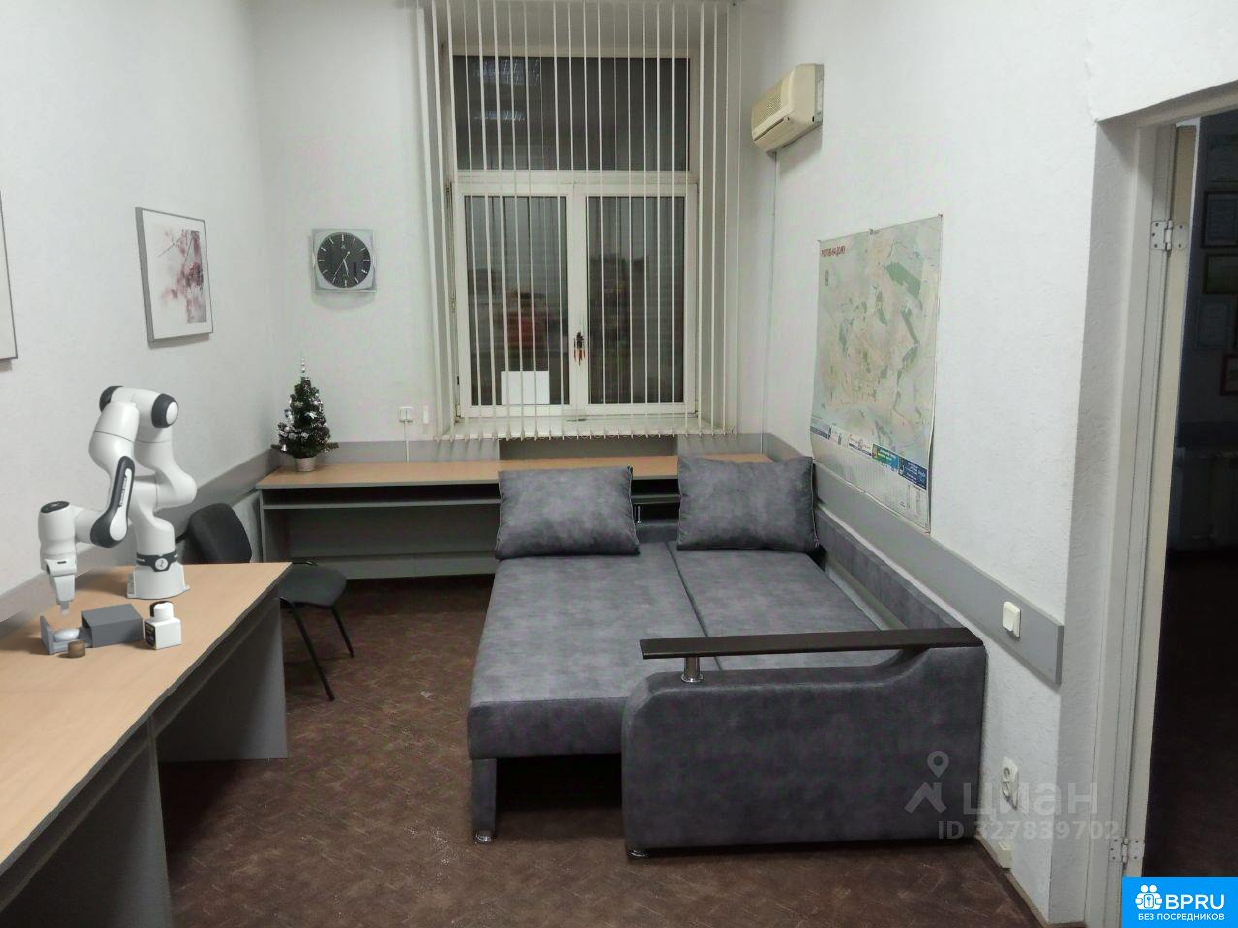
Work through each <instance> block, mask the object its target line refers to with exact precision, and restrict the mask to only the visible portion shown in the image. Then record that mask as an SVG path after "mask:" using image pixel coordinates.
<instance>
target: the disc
mask: <svg viewBox="0 0 1238 928" xmlns="http://www.w3.org/2000/svg"><path fill="white" fill-rule="evenodd" d="M79 629H80V628H76V627H75V628H73V627H69V628H68V627H67V628H62V629H58V630H55V631H54V632H53V638H54V642H57V643H59V642H65V641H71V640H77V639H79V638H80V631H79Z"/></svg>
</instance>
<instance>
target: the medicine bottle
mask: <svg viewBox="0 0 1238 928" xmlns="http://www.w3.org/2000/svg"><path fill="white" fill-rule="evenodd" d="M148 608H149V618H146V619H143V627H144V640H145V641H144V642H145V645H147V646H149V647H151V648H152V649H154V650H155V651H157V650H163V649H167V648H171V647H175V646H180V645H182V631H181V620H180V619H179V618H177V617H175V611H174V603H173V602H172V601H168V600H160V601H155V602H152V603H150V605H149V607H148Z"/></svg>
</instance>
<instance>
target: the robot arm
mask: <svg viewBox="0 0 1238 928" xmlns="http://www.w3.org/2000/svg"><path fill="white" fill-rule="evenodd" d="M98 407H99V410H100V411H99V412H100V415H99V416H98V420H97V421H96V424H95V426H94V429H93V431H92V434H91V437H90V440H89V443H88V448H87V449H88V454H89V457H90V459H91V460H92V462H94V463H95V465H96V466H98V467H99V468H101V469H102V470H104V471H105V472H106V473H107V474H108V476H109V479H110V482H109V483H110V485H109V487H108V490H107V491H108V492H107V500H106V505H105V508H104V509H102V510H100V509H99V510H98V509H93V508H88V507H80V506H77V505H73V504H71V503H70V502H69V501H66V500H57V501H52V502H49V503H46V504H44V505H43V506H41V508H40V510H39V512H38V517H37V534H38V539H39V541H40V547H39V548H40V549H39V558H40V559H39V560H40V561H39V562H40V569H41V571H44V572H46V575H47V576H48V580H49V581H48V583H49V584H50V585H49V586H50V587H51V589H52V591H53V594H54V597H55V603H56V605H57V606H60V608H59V609H60V615H61V616H68V615H69V614H70V610H69V609H70V603H72V602H74V599H75V587H76V586H75V582H76V579H75V578H76V577H75V576H76V575H75V574H77V573H78V569H77V567H78V565H79V564H78V562H79V561H78V551H77V549H78V548H77V546H76V545H77V544H78V543H82V544H87V545H88V544H89V545H94V546H96V547H97V546H98V547H101V548H104V549H113V548H115V547H118V545H120V544H121V543H122V542H123V541H124V539H125V538H126V537H127V534H128V531H129V529H128V528H129V522H128V520H129V521H130V522H131V525H133V529H134V531H135V537H136V546H137V551H136V554H135V559H136V560H135V563H136V565H135V566H134V568H133V572H132V573H131V572H130V573H127V579H128V583H126V598H128V599H141V600H158V599H167V598H172V597H175V596H179V595H180V594H182V593H184V592H186V591H189V590H190V589H191V587H190V585H189V584H187V583H185V578H184V577H185V575H184V567H183V565H182V563H180V562H178V556H179V555H178V550H177V548H176V538H175V537H176V536H175V527H174V525H173V524H172V523H171V522H170V521H168V520H165V519H163V518H160V517H157V516H155V515H154V513H153V510H157V509H168V508H170V509H171V508H178V507H180V506H185V505H189V504H191V503H193V501H194V500H195V499H196V496H197V493H198V486H197V483H196V481H195V479H194V478H193V477H192V476H191V475H190V474H189V473H186V472H185V471H183V470H182V469H181V468H180V466H178V464H177V462H176V459H175V455H174V445H173V444H174V442H173V441H174V438H173V437H174V433H173V432H174V429H173V425H174V424H175V422H176V420H177V419H178V414H179V404H178V402H177V400H176V399H175V397H173V396H171V395H169V394H167V393H164V392H163V393H160V392H157V391H154V390H149V389H146V388H137V387H128V386H123V385H110V386H108V387H107V388H106V389H104V390H103V391H102V393H101V395H100V397H99V402H98ZM132 457H133V458H134V460H135V462H136V463H137V464H139V465H140V466H142V467H144V468H147V469H150V470H152V471H154V474H153V473H152V474H145V475H143V474H142V475H136V465H135V462H134V460H133V458H132ZM129 581H130V582H129Z"/></svg>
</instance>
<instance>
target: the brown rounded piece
mask: <svg viewBox="0 0 1238 928" xmlns="http://www.w3.org/2000/svg"><path fill="white" fill-rule="evenodd" d="M67 652H68V653H67V654H68V658H69V659H80V658H83V657H85V656H86V647H85V642H84V641H72V642H70V643H68V650H67Z"/></svg>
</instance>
